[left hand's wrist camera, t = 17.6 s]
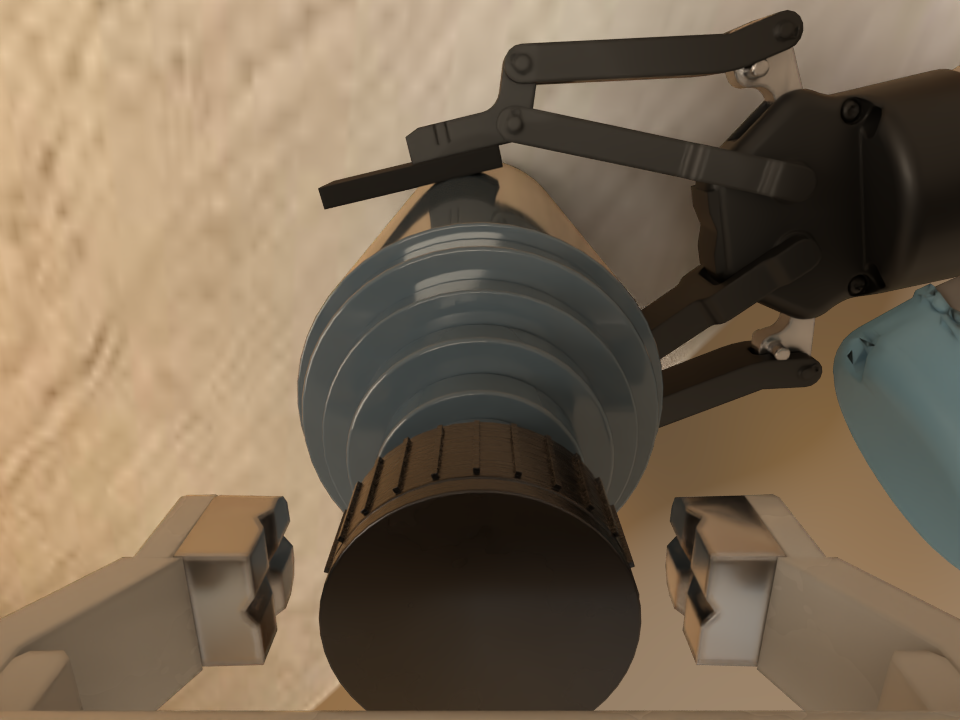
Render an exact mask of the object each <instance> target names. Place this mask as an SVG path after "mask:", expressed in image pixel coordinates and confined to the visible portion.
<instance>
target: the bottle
mask: <svg viewBox="0 0 960 720" xmlns="http://www.w3.org/2000/svg"><path fill="white" fill-rule="evenodd" d="M502 164H503V167H502V168H497V169H493V170H489V171H485V172H480V173H476V174H472V175H468V176H464V177H459V178H455V179H451V180H447V181H443V182H438V183H434V184H430V185H426V186H421V187H418V188H417V189H416V191H415V192H414V193H413V194H412V195H411V197H410V198H409V199H408V200H407V201H406V203H405V204H404V205H403V206H402V207H401V209H400V210H399V211H398V212H397V214H396V215H395V216H394V217H393V218H392V220H391V221H390V222H389V223H388V224H387V226H386V227H385V228H384V229H383V231H382V232H381V233H380V234H379V235H378V237H377V238H376V239H375V240H374V242H373V243H372V244H371V245H370V246H369V248H368V249H367V250H366V251H365V252H364V254H363V255H362V256H361V257H360V259H359V260H358V261H357V262H356V263H355V265H354V266H353V267H352V268H351V269H350V271H349V272H348V273H347V274H346V276H345V277H344V278H343V279H342V280H341V282H340V283H339V284H338V285H337V286H336V288H335V289H334V290H333V291H332V293H331V294H330V295H329V296H328V298H327V299H326V301H325V303H324V304H323V306H322V307H321V309H320V310H319V312H318V314H317V315H316V317H315V319H314V322H313V324H312V326H311V328H310V331H309V333H308V335H307V337H306V341H305V344H304V348H303V351H302V355H301V358H300V365H299V373H298V380H297V391H298V409H299V415H300V422H301V427H302V430H303V433H304V436H305V441H306V445H307V448H308V451H309V454H310V458H311V461H312V463H313V466H314V468H315V470H316V472H317V474H318V476H319V479H320V481H321V482H322V484H323V486H324V487H325V489H326V490H327V492H328V493H329V495H330V497H331V498H332V499H333V501H334V502H335V503H336V504H337V505H338V507H339V508H340V509H341V510H342V512H343V513H344V510H345V509H346V510H347V509H348V506H349V503H350V500H351V497H352V494H353V491H354V488H355V485H356V483H357V482H358V481H359V482H362V481H363V479H364V478H365V476H366V475H367V474H368V473H369V471H370V470H371V469H372V468H373V467H374V464H375V461H376V459H377V458H378V457H379V456H380V457H381V458H383V457H384V456H385V455H386V454H387V453H388V452H390V451H391V450H393V449H394V448H396V447H397V446H398V445H400V444H401V443H403V440H404V439H405V438H407V437H409V438H410V439H411V438H413V437H415V436H417V435H419V434H421V433H424V432H427V431H429V430H432V429H435V428H437V426H438V425H443V426H447V425H452V424H457V423H467V422H474V420H480V422H494V423H502V424H509V425H511V423H513V424H517V427H521V428H525V429H529V430H531V431H534V432H536V433H539V434H541V435H544V436H545V435H546V434H547V435H549V436H551V438H552V440H553V441H555V442H557V443H559V444H560V445H562V446H563V447H565V448H566V449H567V450H569V451H570V452H572V453H573V454H575V453H577V454H579V455H580V457H581V461H582V462H583V463H584V464H585V465H586V466H587V467H588V468H589V470H590V471H591V472H592V474H593V475H594V476H595V477H596V478H597V477H600V478H601V480H602V482H603V486H604V489H605V492H606V495H607V498H608V501H609V504H610V505H613V504H614V506H615V509H616V512H618V511H619V510H620V508H621V507H622V506H623V505H624V504H625V503H626V501H627V500H628V498H629V497H630V495H631V494H632V492H633V491H634V490H635V488H636V487H637V485H638V483H639V481H640V479H641V477H642V475H643V473H644V471H645V469H646V467H647V464H648V461H649V459H650V456H651V453H652V450H653V447H654V442H655V438H656V435H657V432H658V428H659V423H660V418H661V413H662V403H663V379H662V368H661V362H660V358H659V354H658V350H657V345H656V342H655V339H654V337H653V335H652V332H651V330H650V327H649V325H648V322H647V320H646V319H645V317H644V315H643V313H642V312H641V310H640V308H639V306H638V305H637V303H636V301H635V300H634V299H633V298H632V296H631V295H630V294H629V292H628V291H627V290H626V289H625V287H624V286H623V285H622V284H621V282H620V281H619V280H618V279H617V277H616V276H615V275H614V274H613V273H612V271H611V270H610V269H609V268H608V266H607V265H606V264H605V263H604V262H603V260H602V259H601V258H600V257H599V256H598V254H597V253H596V252H595V251H594V249H593V248H592V247H591V246H590V245H589V243H588V242H587V241H586V240H585V238H584V237H583V236H582V235H581V234H580V232H579V231H578V230H577V229H576V227H575V226H574V225H573V224H572V223H571V221H570V220H569V219H568V218H567V217H566V215H565V214H564V213H563V212H562V210H561V209H560V208H559V207H558V206H557V204H556V203H555V202H554V201H553V199H552V198H551V197H550V196H549V195H548V193H547V192H546V191H545V190H544V188H543V187H542V186H541V185H540V184H539V183H538V182H537V181H535V180H534V179H533V178H532V177H530V176H529V175H528V174H526V173H525V172H523V171H521V170H519V169H517V168H515V167H513V166H510V165H508V164H505V163H502Z"/></svg>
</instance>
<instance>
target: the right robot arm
mask: <svg viewBox="0 0 960 720" xmlns="http://www.w3.org/2000/svg"><path fill="white" fill-rule="evenodd" d="M802 33H803V22H802V20H801V17H800V16H799V15H798V14H797V13H796V12H794V11H789V10H786V11H781V12H778V13H775V14H772V15H769V16H766V17H763V18H760V19H757V20H754V21H751V22H749V23H747V24H744V25H742V26H740V27H738V28H735V29H733V30H731V31H728V32H726V33H724V34H710V35H690V36H669V37H649V38H629V39H608V40H588V41H568V42H547V43H527V44H519V45H515V46H514V47H512V48H511V49H510V50H509V51H508V53H507V55H506V56H505V58H504V61H503V65H502V73H501V81H500V89H499V95H498V98H497V100H496V102H495V104H494V105H493V106H492V107H491V108H490V109H488V110H487V111H484V112H481V113H477V114H473V115H469V116H465V117H461V118H457V119H453V120H449V121H445V122H440V123H436V124H432V125H428V126H424V127H420V128H417V129H416V130H415V131H413V132H412V133H411V134H409V135H408V136H407V137H406V141H407V145H408V149H409V153H410V157H411V161H412V162H411V163H406V164H402V165H398V166H394V167H390V168H386V169H381V170H377V171H373V172H369V173H365V174H361V175H356V176H352V177H348V178H344V179H340V180H336V181H333V182H331V183H328V184H326V185H324V186H322V187H320V188H318V190H319V193H320V196H321V199H322V203H323V206H324V209H329V208H333V207H337V206H341V205H345V204H350V203H354V202H358V201H362V200H367V199H371V198H375V197H379V196H383V195H388V194H392V193H396V192H400V191H405V190H409V189H413V188H417V187H421V186H426V185H430V184H434V183H438V182H443V181H447V180H451V179H455V178H459V177H464V176H468V175H472V174H476V173H480V172H485V171H489V170H493V169H497V168H502V167H503V164H502V160H501V155H500V150H499V145H503V144H507V143H511V142H513V143H518V144H523V145H528V146H533V147H537V148H542V149H547V150H552V151H557V152H561V153H566V154H571V155H576V156H581V157H585V158H590V159H595V160H600V161H605V162H609V163H614V164H619V165H624V166H629V167H633V168H638V169H643V170H648V171H653V172H658V173H662V174H667V175H672V176H677V177H681V178H686V179H690V180H694V181H696V185H694V186H691V192H692V200H693V207H694V209H695V211H696V214H697V216H698V219H699V221H700V224H701V227H700V234H699V240H698V251H699V260H700V264H701V265H699V266H698V267H696V268H695V269H693V270H692V271H690V272H689V273H687V274H686V275H685V276H684V277H683V278H682V279H681V280H680V282H679V284H678V285H677V286H676V287H675V288H673V289H672V290H670V291H669V292H667V293H666V294H664V295H663V296H661V297H660V298H659V299H657V300H656V301H654V302H653V303H651V304H650V305H648V306H647V307H645V308H644V309H642V310H641V312H642V313H643V315H644V317H645V319H646V320H647V322H648V325H649V327H650V330H651V332H652V335H653V337H654V339H655V342H656V345H657V350H658V354H659V358H660V359H661V358H663V357H664V356H666V355H667V354H669V353H670V352H672V351H673V350H675V349H676V348H678V347H679V346H681V345H682V344H684V343H685V342H687V341H689V340H690V339H692V338H693V337H695V336H696V335H698V334H699V333H701V332H702V331H704V330H705V329H707V328H708V327H710V326H712V325H716V324H722V323H725V322H727V321H729V320H731V319H732V318H734V317H735V316H737V315H738V314H740V313H741V312H743V311H744V310H746V309H747V308H749V307H750V306H752V305H753V304H755V303H756V302H758V303H760V304H762V305H765V306H767V307H769V308H772V309H774V310H776V311H778V312H780V316H779V318H778V320H777V321H776V322H775V323H774V324H773V325H771V326H769V327H766V328H762V329H758V330H756V331H755V332H754V333H753V335H752V341H744V342H739V343H734V344H731V345H727V346H724V347H721V348H719V349H716V350H713V351H711V352H708V353H706V354H703V355H700V356H698V357H695V358H693V359H690V360H687V361H685V362H682V363H680V364H677V365H675V366H672V367H669V368H667V369H664V370H662V379H663V403H662V413H661V418H660V423H659V428H660V427H663V426H665V425H668V424H671V423H673V422H676V421H679V420H681V419H684V418H687V417H689V416H692V415H695V414H697V413H700V412H703V411H706V410H708V409H711V408H714V407H716V406H719V405H722V404H724V403H727V402H730V401H732V400H735V399H738V398H740V397H743V396H746V395H748V394H751V393H754V392H756V391H759V390H762V389H776V388H795V387H807V386H811V385H813V384H814V383H816V382H817V381H818V380H819V379H820V377H821V374H822V366H821V365H820V363H819V362H818V361H817V360H815V359H814V358H813V357H811V349H812V340H813V332H814V324H815V318H816V317H818V316H821V315H822V314H824V313H826V312H827V311H828V310H829V309H831V308H832V307H833V306H835V305H837V304H838V303H840V302H842V301H844V300H846V299H849V298H852V297H858V296H865V295H872V294H878V293H883V292H888V291H893V290H897V289H902V288H907V287H911V286H916V285H921V284H926V283H930V282H935V281H940V280H944V279H949V278H953V279H951V280H949V281H947V282H944V283H942V284H940V285H938V286H936V287H935V286H933V285H932V284H929V285H926V286H924V287H922V288H920V289H917V290H916V291H915V293H914V295H913V298H911V299H909V300H908V301H906V302H904V303H902V304H900V305H898V306H897V307H895V308H893V309H891V310H889V311H888V312H886V313H884V314H882V315H880V316H879V317H877V318H875V319H873V320H871V321H870V322H868V323H866V324H864V325H862V326H861V327H859V328H857V329H856V330H854V331H853V332H851V333H850V334H849V335H848V336H847V337H846V338H845V339H844V340H843V342H842V343H841V345H840V347H839V348H838V350H837V352H836V356H835V359H834V366H833V374H834V384H835V390H836V395H837V399H838V402H839V405H840V408H841V411H842V413H843V416H844V418H845V421H846V423H847V425H848V427H849V430H850V432H851V434H852V436H853V438H854V440H855V442H856V444H857V446H858V448H859V449H860V451H861V453H862V454H863V456H864V458H865V460H866V462H867V463H868V465H869V467H870V468H871V470H872V471H873V473H874V474H875V476H876V477H877V479H878V481H879V482H880V484H881V485H882V487H883V488H884V490H885V491H886V492H887V494H888V495H889V497H890V498H891V500H892V501H893V502H894V504H895V505H896V506H897V508H898V509H899V510H900V511H901V513H902V514H903V515H904V517H905V518H906V519H907V520H908V521H909V523H910V524H911V525H912V526H913V527H914V529H915V530H916V531H917V532H918V533H919V534H920V535H921V536H922V538H923V539H924V540H925V541H926V542H927V543H928V544H929V545H930V546H931V547H932V548H933V549H934V550H936V551H937V552H938V553H939V554H940V555H941V556H942V557H944V558H945V559H946V560H947V561H948V562H950V563H951V564H952V565H953V566H955V567H956V568H958V569H959V570H960V65H959V66H958V67H956V68H955V69H953V70H949V69H938V70H933V71H929V72H924V73H920V74H916V75H912V76H907V77H903V78H899V79H895V80H891V81H886V82H882V83H878V84H874V85H869V86H865V87H861V88H857V89H853V90H848V91H844V92H840V93H836V94H830V95H826V94H821V93H818V92H815V91H813V90H809V89H803V88H802V84H801V79H800V75H799V71H798V66H797V62H796V58H795V53H794V49H793V46H795V45H796V44H797V42H798V41H799V40H800V38H801V36H802ZM719 73H725V74H726V77H727V80H728V82H729V83H730V84H731V86H733V87H735V88H739V89H744V88H755V89H757V90H759V91H760V92H761V93H762V95H763V97H764V99H765V100H764V101H763V102H762V104H761V105H760V106H759V107H758V108H757V109H756V110H755V111H754V112H753V113H752V114H751V115H750V116H749V117H748V118H747V119H746V120H745V121H744V122H743V123H742V125H741V126H740V127H739V128H738V129H737V130H736V131H735V132H734V133H733V134H732V135H731V136H730V137H729V138H728V139H727V140H726V141H725V142H724V143H723V144H722V145H721V147H720V148H717V147H713V146H708V145H703V144H698V143H693V142H688V141H683V140H678V139H673V138H669V137H664V136H659V135H655V134H650V133H645V132H640V131H636V130H631V129H626V128H622V127H617V126H612V125H607V124H603V123H598V122H593V121H588V120H584V119H579V118H574V117H570V116H565V115H560V114H555V113H551V112H546V111H541V110H537V109H533V104H534V97H535V90H536V85H542V84H563V83H584V82H604V81H625V80H646V79H667V78H687V77H699V76H707V75H713V74H719ZM954 277H956V278H954Z"/></svg>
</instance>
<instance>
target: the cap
mask: <svg viewBox="0 0 960 720" xmlns="http://www.w3.org/2000/svg"><path fill="white" fill-rule="evenodd" d="M632 567H634V562H633V560H632V557H631V554H630V551H629V548H628V545H627V542H626V539H625V536H624V533H623V530H622V527H621V524H620V521H619V518H618V515H617V512H616V509H615V506H614V504H613V505H610V504H609V501H608V498H607V495H606V492H605V489H604V486H603V482H602V480H601V478H600V477H597V478H596V477H595V476H594V475H593V474H592V472H591V471H590V470H589V468H588V467H587V466H586V465H585V464H584V463H583V462H582V461H581V457H580V455H579V454H577V453H575V454H573V453H572V452H570V451H569V450H567V449H566V448H565V447H563V446H562V445H560V444H559V443H557V442H555V441H553V440H552V438H551V436H549V435H547V434H546V435H545V436H544V435H541V434H539V433H536V432H534V431H531V430H529V429H525V428H521V427H517V424H513V423H511V425H509V424H502V423H494V422H480V420H474V422H467V423H457V424H452V425H447V426H443V425H438V426H437V428H435V429H432V430H429V431H427V432H424V433H421V434H419V435H417V436H415V437H413V438H411V439H410V438H409V437H407V438H405V439H404V440H403V443H401V444H400V445H398V446H397V447H396V448H394V449H393V450H391V451H390V452H388V453H387V454H386V455H385V456H384V457H383V458H381V457H380V456H379V457H378V458H377V459H376V461H375V464H374V467H373V468H372V469H371V470H370V471H369V473H368V474H367V475H366V476H365V478H364V479H363V481H362V482H359V481H358V482H357V483H356V485H355V488H354V491H353V494H352V497H351V500H350V503H349V506H348V509H347V510H346V509H345V510H344V513H343V516H342V519H341V522H340V525H339V528H338V531H337V534H336V537H335V540H334V543H333V546H332V549H331V552H330V554H329V557H328V560H327V563H326V566H325V570H324V572H325V573H328V575H327V578H326V581H325V584H324V588H323V592H322V596H321V600H320V610H319V626H320V636H321V640H322V644H323V648H324V652H325V655H326V657H327V659H328V662H329V664H330V667H331V669H332V670H333V672H334V674H335V675H336V677H337V679H338V680H339V682H340V683H341V685H342V686H343V687H344V688H345V690H346V691H347V692H348V693H349V694H350V696H351V697H352V698H353V699H354V700H355V701H356V702H358V703H359V704H360V705H361V706H362V707H363V708H364V709H365V710H367V711H594V710H595V709H596V708H597V707H598V706H599V705H601V704H602V703H603V702H604V701H605V700H606V699H607V698H608V697H609V696H610V694H611V693H612V692H613V691H614V690H615V689H616V688H617V686H618V685H619V683H620V682H621V680H622V679H623V677H624V676H625V674H626V673H627V671H628V669H629V666H630V664H631V662H632V660H633V658H634V655H635V652H636V648H637V645H638V641H639V636H640V628H641V605H640V600H639V592H638V589H637V586H636V583H635V580H634V577H633V574H632V571H631V568H632Z"/></svg>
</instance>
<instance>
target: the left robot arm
mask: <svg viewBox="0 0 960 720" xmlns="http://www.w3.org/2000/svg"><path fill="white" fill-rule="evenodd" d="M289 522H290V518H289V511H288V504H287V501H286V500H285V498H284V497H283V496H242V495H219V496H218V495H186V496H183V497H181V498H180V499H179V500H178V501H177V502H176V504H175V505H174V506H173V507H172V509H171V510H170V511H169V512H168V514H167V515H166V516H165V518H164V519H163V520H162V521H161V523H160V524H159V525H158V526H157V528H156V529H155V530H154V532H153V533H152V534H151V535H150V537H149V538H148V539H147V540H146V542H145V543H144V544H143V546H142V547H141V548H140V549H139V551H138V552H137V553H136V554H135V556H134V557H122V558H120V559H118V560H116V561H115V562H113V563H111V564H109V565H107V566H105V567H103V568H101V569H99V570H97V571H95V572H93V573H91V574H89V575H87V576H85V577H83V578H81V579H79V580H77V581H75V582H73V583H71V584H69V585H67V586H65V587H63V588H61V589H59V590H57V591H55V592H53V593H51V594H49V595H47V596H45V597H43V598H41V599H39V600H37V601H35V602H33V603H31V604H29V605H27V606H25V607H23V608H21V609H19V610H17V611H15V612H13V613H11V614H9V615H7V616H5V617H3V618H1V619H0V720H960V619H958V618H956V617H954V616H952V615H950V614H948V613H946V612H944V611H942V610H940V609H938V608H936V607H934V606H932V605H931V604H929V603H927V602H925V601H923V600H921V599H919V598H917V597H915V596H913V595H911V594H909V593H907V592H905V591H903V590H901V589H899V588H897V587H895V586H893V585H891V584H889V583H887V582H885V581H883V580H881V579H879V578H877V577H875V576H873V575H871V574H869V573H867V572H865V571H863V570H861V569H859V568H857V567H855V566H853V565H851V564H849V563H847V562H845V561H843V560H841V559H839V558H837V557H826V556H825V555H824V553H823V552H822V551H821V550H820V548H819V547H818V546H817V545H816V543H815V542H814V541H813V539H812V538H811V537H810V536H809V534H808V533H807V532H806V531H805V529H804V528H803V527H802V525H801V524H800V523H799V522H798V520H797V519H796V518H795V517H794V515H793V514H792V513H791V512H790V510H789V509H788V508H787V506H786V505H785V504H784V503H783V501H782V500H781V499H780V498H779V497H777V496H775V495H773V494H769V495H744V496H706V497H676V498H675V499H674V502H673V505H672V509H671V517H670V522H671V525H672V527H673V529H674V531H675V533H676V537H675V538H674V539H673V540H672V541H671V542H670V543H669V544H668V545H667V553H666V580H667V586H668V591H669V595H670V598H671V601H672V604H673V606H674V608H675V609H676V610H677V611H679V612H680V613H681V614H683V615H684V624H683V632H684V635H685V637H686V639H687V642H688V645H689V647H690V649H691V652H692V654H693V657H694V659H695V662H696V664H697V665H723V666H758V667H757V670H759V671H760V672H761V673H762V674H763V675H764V676H765V677H767V678H768V679H769V680H770V681H771V682H772V683H773V684H774V685H776V686H777V687H778V688H779V689H780V690H781V691H782V692H784V693H785V694H786V695H787V696H788V697H789V698H790V699H791V700H792V701H794V702H795V703H796V704H797V705H798V706H799V707H800V708H802V709H803V710H804V711H156V710H157V709H159V708H160V707H161V706H162V705H163V704H164V703H165V702H167V701H168V700H169V699H170V698H171V697H172V696H173V695H175V694H176V693H177V692H178V691H179V690H180V689H181V688H182V687H184V686H185V685H186V684H187V683H188V682H189V681H190V680H192V679H193V678H194V677H195V676H196V675H197V674H198V673H199V672H201V671H202V666H237V665H263V664H264V662H265V659H266V657H267V654H268V652H269V649H270V647H271V644H272V642H273V639H274V637H275V634H276V632H277V624H276V615H277V614H279V613H280V612H281V611H283V610H284V609H285V608H286V606H287V603H288V601H289V598H290V595H291V591H292V585H293V579H294V552H293V546H292V544H291V543H290V542H289V541H288V540H287V539H286V538H285V537H284V533H285V531H286V529H287V527H288V524H289Z"/></svg>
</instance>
